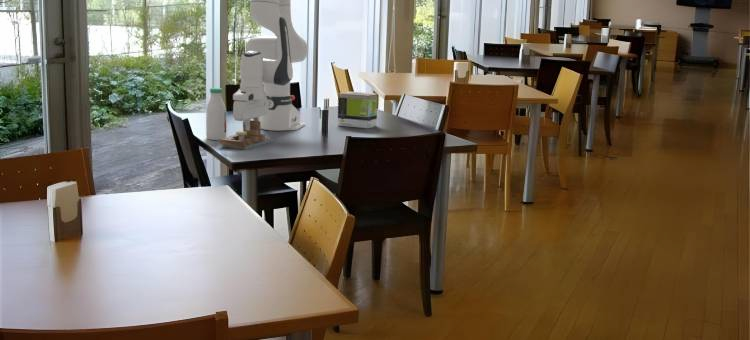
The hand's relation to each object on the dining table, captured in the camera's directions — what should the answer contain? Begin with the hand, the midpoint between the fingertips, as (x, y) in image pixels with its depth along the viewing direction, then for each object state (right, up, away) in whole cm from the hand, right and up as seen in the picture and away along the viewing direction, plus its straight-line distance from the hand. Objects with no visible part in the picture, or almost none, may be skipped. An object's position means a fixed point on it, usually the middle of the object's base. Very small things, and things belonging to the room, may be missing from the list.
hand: (251, 129), depth 330 cm
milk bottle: (-15, -4, +7) cm, 17 cm away
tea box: (+40, +4, +49) cm, 64 cm away
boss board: (-1, -6, -1) cm, 6 cm away
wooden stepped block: (-3, -5, -5) cm, 7 cm away
